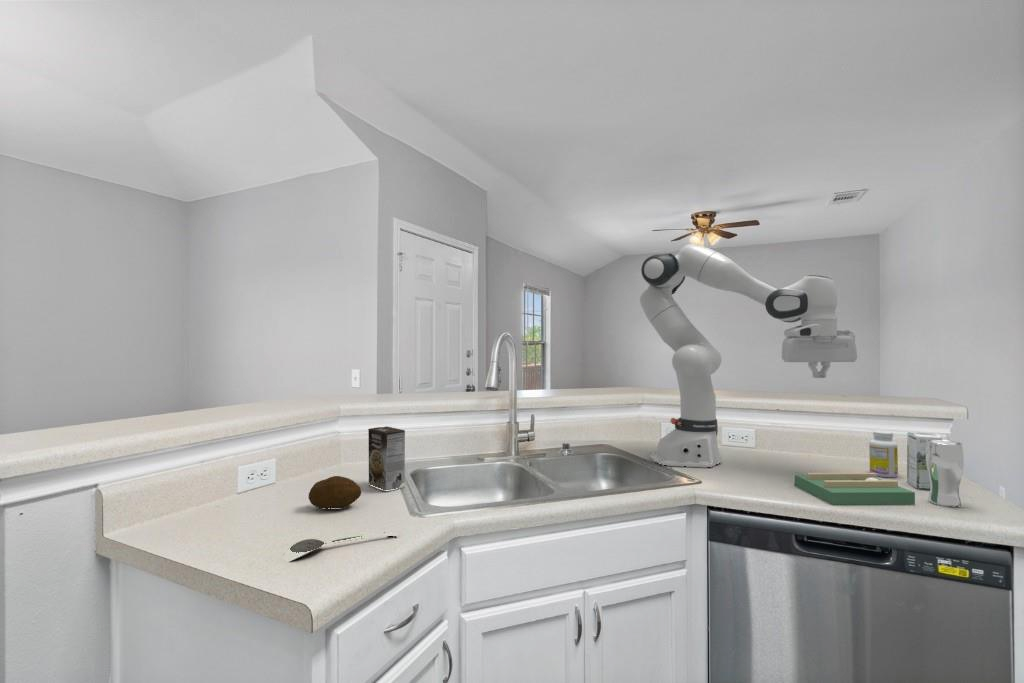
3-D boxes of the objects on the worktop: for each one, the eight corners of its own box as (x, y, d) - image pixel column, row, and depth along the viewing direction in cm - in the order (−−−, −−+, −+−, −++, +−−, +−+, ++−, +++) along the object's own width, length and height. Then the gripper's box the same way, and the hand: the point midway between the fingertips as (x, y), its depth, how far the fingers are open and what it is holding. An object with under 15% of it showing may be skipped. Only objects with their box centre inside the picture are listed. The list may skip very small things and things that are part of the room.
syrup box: (931, 485, 133) (931, 432, 133) (943, 491, 128) (942, 436, 128) (906, 483, 135) (906, 431, 135) (916, 489, 130) (916, 435, 130)
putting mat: (832, 504, 118) (832, 486, 118) (794, 485, 134) (794, 469, 134) (915, 504, 118) (914, 486, 118) (867, 485, 134) (867, 468, 134)
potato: (311, 504, 120) (311, 473, 121) (363, 500, 123) (363, 470, 123) (304, 515, 113) (304, 482, 113) (360, 511, 115) (360, 479, 115)
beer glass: (967, 510, 114) (966, 446, 114) (928, 504, 117) (928, 443, 117) (959, 501, 120) (959, 441, 120) (923, 497, 123) (922, 438, 123)
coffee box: (367, 486, 135) (367, 428, 136) (387, 481, 140) (387, 425, 140) (385, 493, 129) (385, 432, 129) (405, 487, 134) (405, 429, 134)
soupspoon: (281, 556, 94) (281, 572, 88) (280, 539, 94) (280, 554, 88) (395, 532, 103) (402, 545, 97) (394, 516, 103) (401, 529, 97)
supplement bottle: (887, 472, 146) (887, 430, 146) (903, 478, 140) (903, 434, 140) (864, 472, 147) (864, 429, 147) (878, 478, 141) (878, 433, 141)
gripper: (847, 330, 145) (847, 376, 145) (778, 331, 145) (778, 377, 145) (862, 330, 138) (862, 378, 138) (790, 330, 139) (790, 378, 139)
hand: (819, 377), depth 142 cm, fingers closed
